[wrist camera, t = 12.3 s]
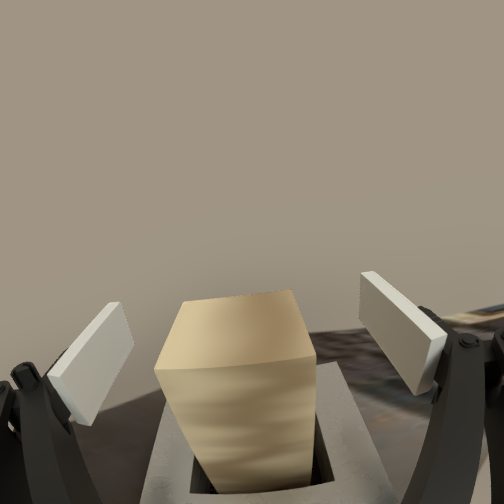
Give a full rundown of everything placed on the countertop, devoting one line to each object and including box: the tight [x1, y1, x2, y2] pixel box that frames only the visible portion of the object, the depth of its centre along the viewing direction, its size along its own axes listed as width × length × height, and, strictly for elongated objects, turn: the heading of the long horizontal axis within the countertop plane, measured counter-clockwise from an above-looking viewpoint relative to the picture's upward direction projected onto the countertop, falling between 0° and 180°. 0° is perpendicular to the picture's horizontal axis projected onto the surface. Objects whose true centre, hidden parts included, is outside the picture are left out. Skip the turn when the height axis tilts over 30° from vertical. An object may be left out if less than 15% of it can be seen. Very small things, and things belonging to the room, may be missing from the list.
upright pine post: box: [154, 289, 316, 494], centre depth 12 cm, size 5×5×12 cm
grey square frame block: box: [140, 362, 398, 504], centre depth 13 cm, size 12×12×4 cm
